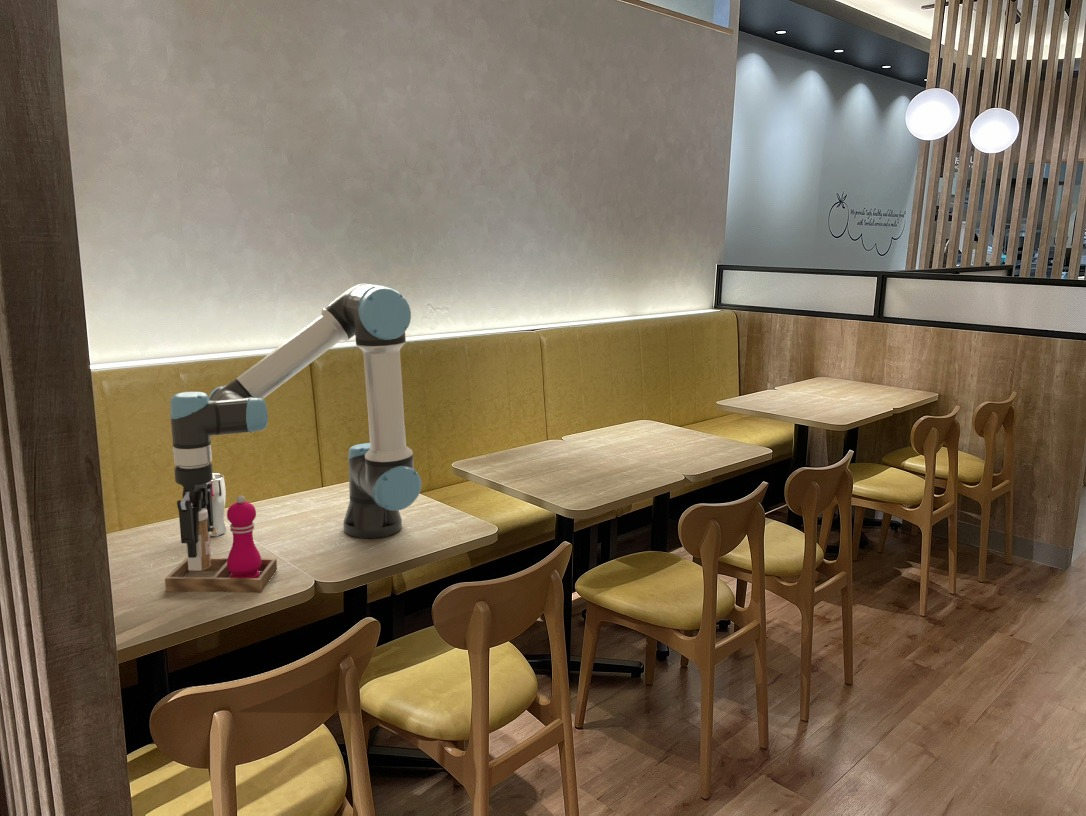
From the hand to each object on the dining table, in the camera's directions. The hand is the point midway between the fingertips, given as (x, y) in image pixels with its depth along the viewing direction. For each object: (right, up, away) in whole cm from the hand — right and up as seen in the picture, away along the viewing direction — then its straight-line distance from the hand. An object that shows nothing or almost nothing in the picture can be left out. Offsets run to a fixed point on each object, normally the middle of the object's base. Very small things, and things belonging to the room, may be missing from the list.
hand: (199, 564), depth 180 cm
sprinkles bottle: (0, -1, 0) cm, 1 cm away
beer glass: (-9, +2, +29) cm, 30 cm away
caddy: (+5, -4, +1) cm, 6 cm away
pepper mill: (+10, -4, +1) cm, 11 cm away
